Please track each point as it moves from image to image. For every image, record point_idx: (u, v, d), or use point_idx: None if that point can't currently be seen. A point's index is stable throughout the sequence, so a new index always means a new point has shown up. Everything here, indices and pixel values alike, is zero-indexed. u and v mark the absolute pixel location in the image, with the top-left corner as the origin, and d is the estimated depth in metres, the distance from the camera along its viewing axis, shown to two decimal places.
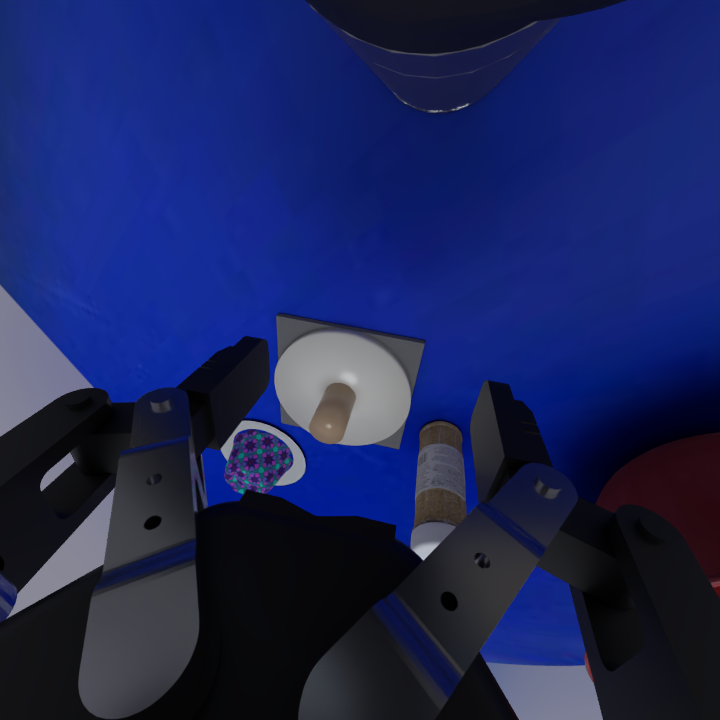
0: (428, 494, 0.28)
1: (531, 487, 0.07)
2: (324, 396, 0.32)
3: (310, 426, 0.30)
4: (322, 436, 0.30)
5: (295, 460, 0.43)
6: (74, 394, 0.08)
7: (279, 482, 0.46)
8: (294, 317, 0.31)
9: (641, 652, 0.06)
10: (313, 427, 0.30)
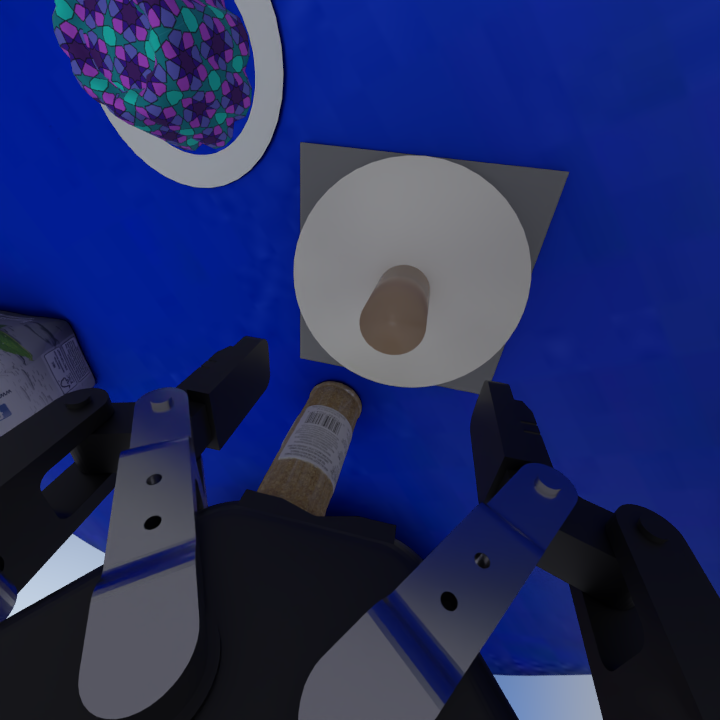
0: (322, 481, 0.19)
1: (531, 487, 0.07)
2: (423, 285, 0.18)
3: (399, 297, 0.15)
4: (376, 317, 0.16)
5: (196, 157, 0.21)
6: (75, 394, 0.08)
7: None
8: None
9: (641, 652, 0.06)
10: (397, 302, 0.15)
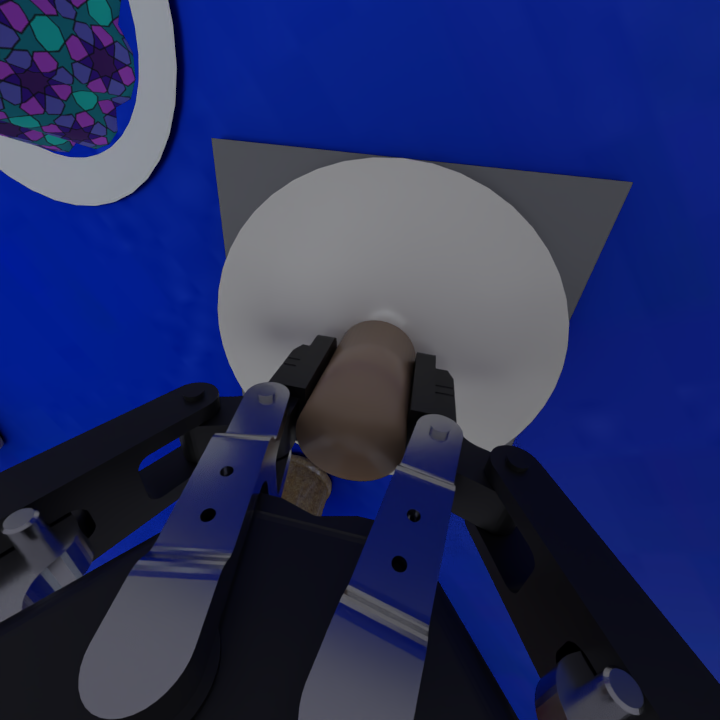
0: None
1: (423, 431, 0.08)
2: (403, 359, 0.11)
3: (356, 403, 0.09)
4: (321, 429, 0.09)
5: (72, 162, 0.14)
6: (193, 387, 0.09)
7: None
8: None
9: (534, 570, 0.06)
10: (354, 410, 0.09)
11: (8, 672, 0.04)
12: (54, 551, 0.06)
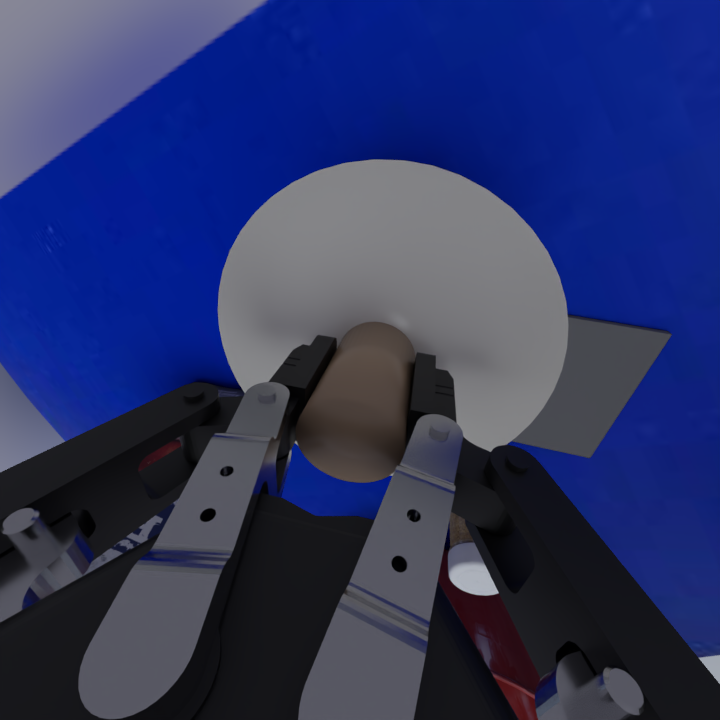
0: None
1: (423, 431, 0.08)
2: (403, 361, 0.11)
3: (356, 405, 0.09)
4: (321, 431, 0.09)
5: None
6: (193, 387, 0.09)
7: None
8: None
9: (534, 570, 0.06)
10: (354, 412, 0.09)
11: (8, 672, 0.04)
12: (54, 551, 0.06)
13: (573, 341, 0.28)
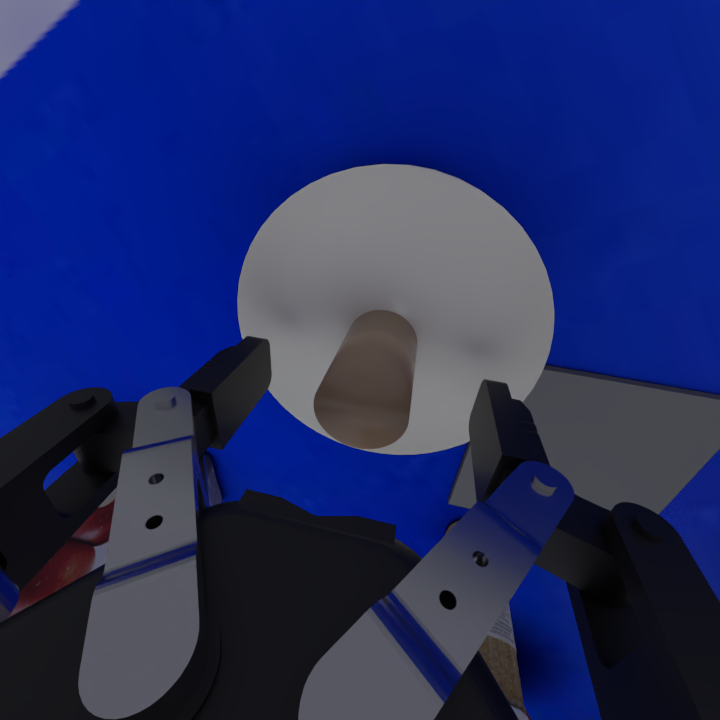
0: (514, 656, 0.21)
1: (528, 485, 0.07)
2: (406, 344, 0.13)
3: (368, 377, 0.10)
4: (336, 401, 0.11)
5: None
6: (78, 394, 0.08)
7: None
8: None
9: (638, 649, 0.06)
10: (365, 384, 0.10)
11: (0, 672, 0.04)
12: None
13: (617, 411, 0.20)
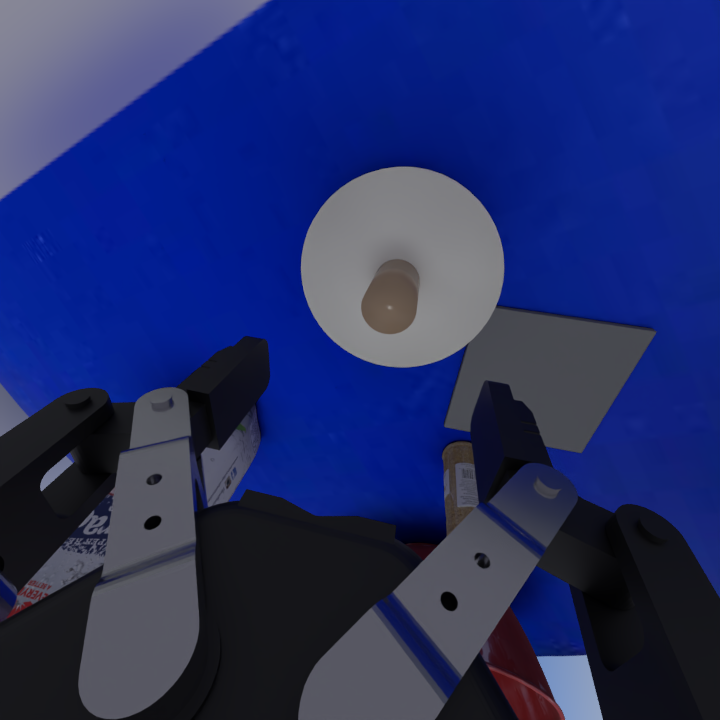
0: None
1: (531, 487, 0.07)
2: (413, 275, 0.21)
3: (393, 284, 0.18)
4: (374, 302, 0.19)
5: None
6: (74, 394, 0.08)
7: None
8: None
9: (641, 652, 0.06)
10: (392, 289, 0.19)
11: None
12: None
13: (562, 340, 0.29)
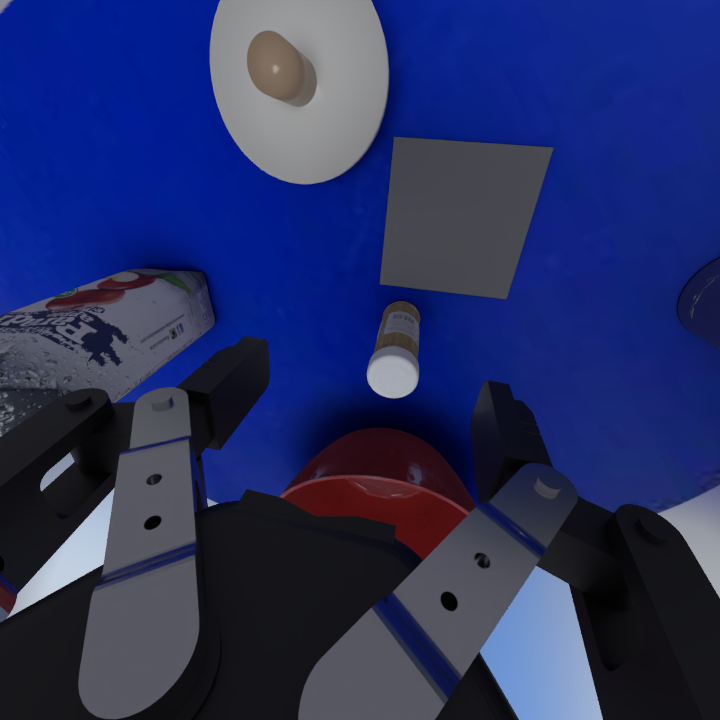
0: (413, 343, 0.32)
1: (531, 487, 0.07)
2: (302, 54, 0.23)
3: (270, 33, 0.20)
4: (258, 58, 0.21)
5: None
6: (74, 394, 0.08)
7: None
8: None
9: (641, 652, 0.06)
10: (269, 39, 0.21)
11: None
12: None
13: (472, 168, 0.31)
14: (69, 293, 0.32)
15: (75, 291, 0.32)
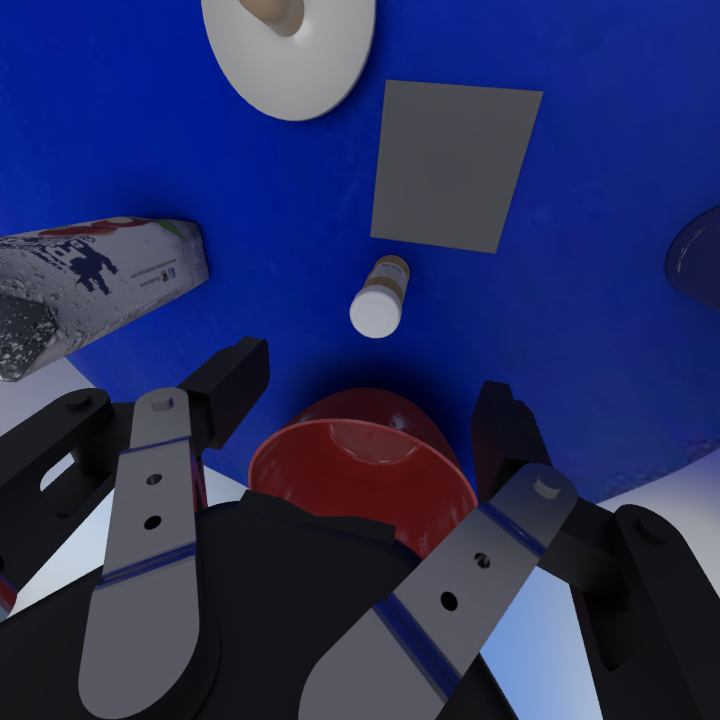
0: (399, 287, 0.32)
1: (531, 487, 0.07)
2: None
3: None
4: None
5: None
6: (75, 394, 0.08)
7: None
8: (535, 115, 0.30)
9: (641, 652, 0.06)
10: None
11: None
12: None
13: (463, 113, 0.31)
14: (63, 227, 0.33)
15: (69, 226, 0.33)
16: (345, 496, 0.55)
